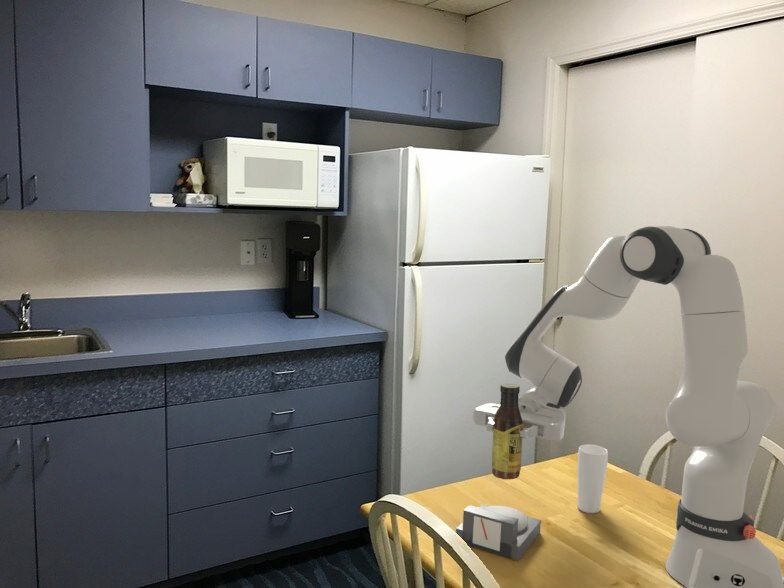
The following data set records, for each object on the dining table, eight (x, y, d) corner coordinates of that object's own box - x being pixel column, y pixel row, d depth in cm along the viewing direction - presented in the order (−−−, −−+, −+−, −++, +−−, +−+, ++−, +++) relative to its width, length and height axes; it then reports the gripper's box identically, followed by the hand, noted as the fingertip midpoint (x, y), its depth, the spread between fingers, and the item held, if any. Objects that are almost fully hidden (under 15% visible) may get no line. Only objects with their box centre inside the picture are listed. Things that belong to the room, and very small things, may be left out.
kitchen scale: (540, 533, 149) (542, 500, 148) (517, 561, 136) (519, 527, 135) (481, 516, 156) (483, 485, 155) (454, 542, 143) (456, 509, 142)
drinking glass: (600, 504, 164) (604, 445, 162) (606, 516, 157) (611, 455, 155) (571, 501, 165) (576, 443, 163) (576, 514, 158) (581, 453, 156)
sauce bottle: (512, 483, 141) (515, 391, 138) (486, 476, 145) (488, 386, 142) (526, 473, 146) (529, 385, 143) (500, 467, 150) (503, 380, 147)
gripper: (486, 393, 160) (462, 408, 148) (572, 409, 150) (553, 426, 138) (485, 418, 161) (461, 435, 149) (570, 436, 151) (551, 455, 139)
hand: (506, 431), depth 143 cm, fingers closed on sauce bottle, 6 cm apart
